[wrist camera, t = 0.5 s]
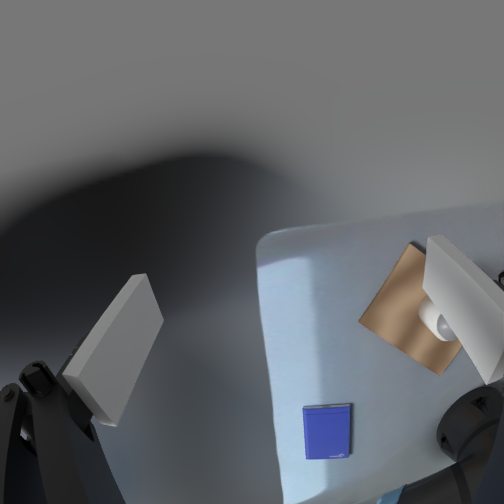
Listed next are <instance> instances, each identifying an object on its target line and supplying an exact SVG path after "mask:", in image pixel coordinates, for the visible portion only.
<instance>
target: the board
mask: <svg viewBox="0 0 504 504" xmlns="http://www.w3.org/2000/svg"><path fill="white" fill-rule="evenodd" d="M425 262H426V255H425V254H423V253H422V252H421V251H419V250H418V249H417V248H415V247H414V246H412V245H411V244H408V245H407V246H406V248H405V250H404V252H403V253H402V255H401V257H400V258H399V260H398V262H397V263H396V265H395V266H394V268H393V270H392V271H391V273H390V274H389V276H388V278H387V279H386V281H385V282H384V284H383V285H382V287H381V288H380V290H379V291H378V293H377V294H376V296H375V297H374V299H373V300H372V302H371V303H370V305H369V306H368V308H367V309H366V311H365V312H364V313H363V315H362V316H361V318H360V319H359V323H360V324H362V325H363V326H365V327H366V328H368V329H369V330H371V331H372V332H374V333H375V334H377V335H378V336H380V337H381V338H383V339H385V340H386V341H388V342H389V343H391V344H392V345H394V346H395V347H397V348H398V349H400V350H401V351H403V352H404V353H406V354H407V355H409V356H410V357H412V358H413V359H415V360H416V361H418V362H419V363H421V364H422V365H424V366H425V367H427V368H428V369H430V370H431V371H433V372H434V373H436V374H437V375H439V376H440V375H441V374H442V373H443V371H444V370H445V369H446V368H447V366H448V365H449V364H450V362H451V361H452V360H453V358H454V357H455V355H456V354H457V353H458V351H459V350H460V348H461V347H462V346H463V345H462V344H461V342H460V341H459V339H457V340H454V341H442V340H440V339H439V338H437V337H436V336H435V334H434V333H433V332H432V331H431V330H430V329H429V328H428V327H427V326H426V325H425V324H424V323H423V322H422V321H421V320H420V318H419V315H418V307H419V304H420V302H421V300H422V299H423V298H424V297H425V296H426V295H427V293H426V292H425V291H424V289H423V288H422V287H423V280H424V271H425Z"/></svg>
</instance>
